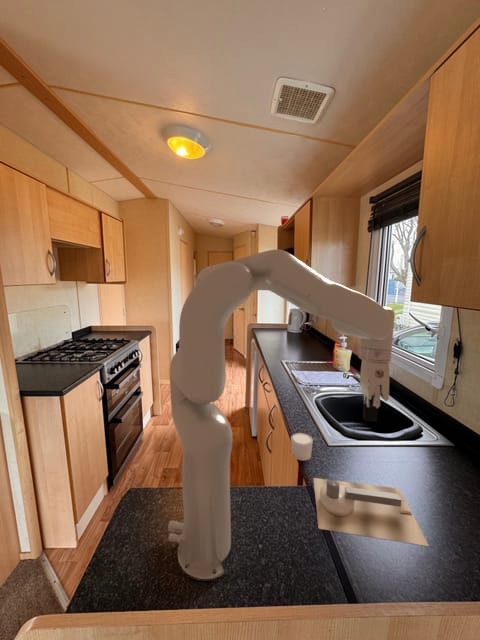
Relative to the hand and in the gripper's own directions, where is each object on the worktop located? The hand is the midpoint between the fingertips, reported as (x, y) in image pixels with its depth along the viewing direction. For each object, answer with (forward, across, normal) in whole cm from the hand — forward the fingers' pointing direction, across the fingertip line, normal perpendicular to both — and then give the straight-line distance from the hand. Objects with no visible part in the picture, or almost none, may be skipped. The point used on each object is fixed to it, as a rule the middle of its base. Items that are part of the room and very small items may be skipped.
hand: (369, 419), depth 73 cm
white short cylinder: (+19, +8, +17) cm, 27 cm away
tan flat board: (+19, -10, +3) cm, 22 cm away
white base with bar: (+17, -10, +4) cm, 21 cm away
